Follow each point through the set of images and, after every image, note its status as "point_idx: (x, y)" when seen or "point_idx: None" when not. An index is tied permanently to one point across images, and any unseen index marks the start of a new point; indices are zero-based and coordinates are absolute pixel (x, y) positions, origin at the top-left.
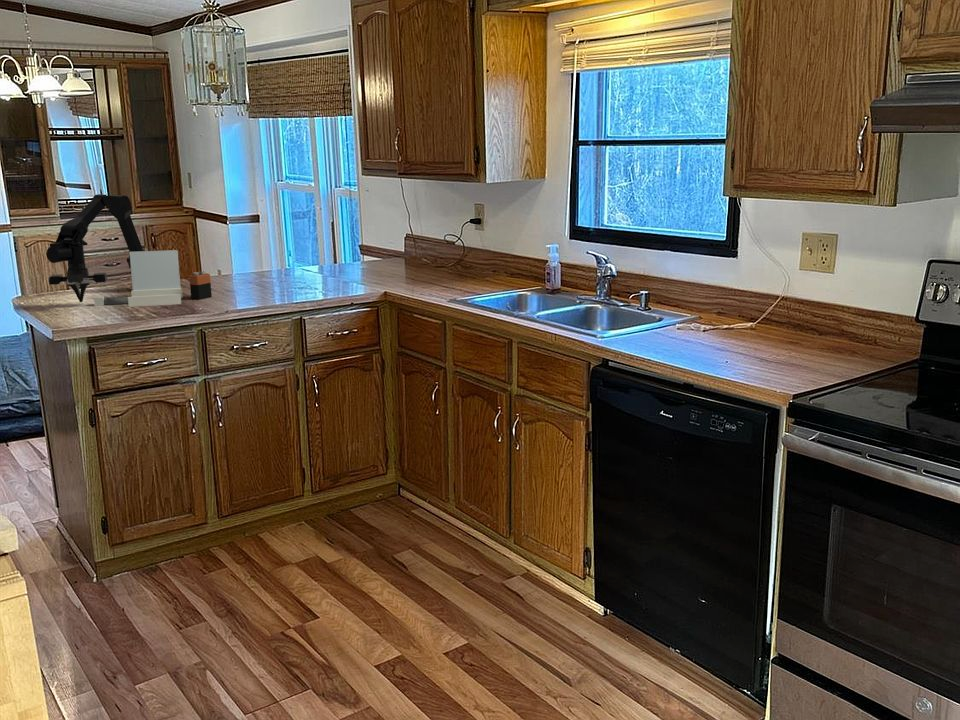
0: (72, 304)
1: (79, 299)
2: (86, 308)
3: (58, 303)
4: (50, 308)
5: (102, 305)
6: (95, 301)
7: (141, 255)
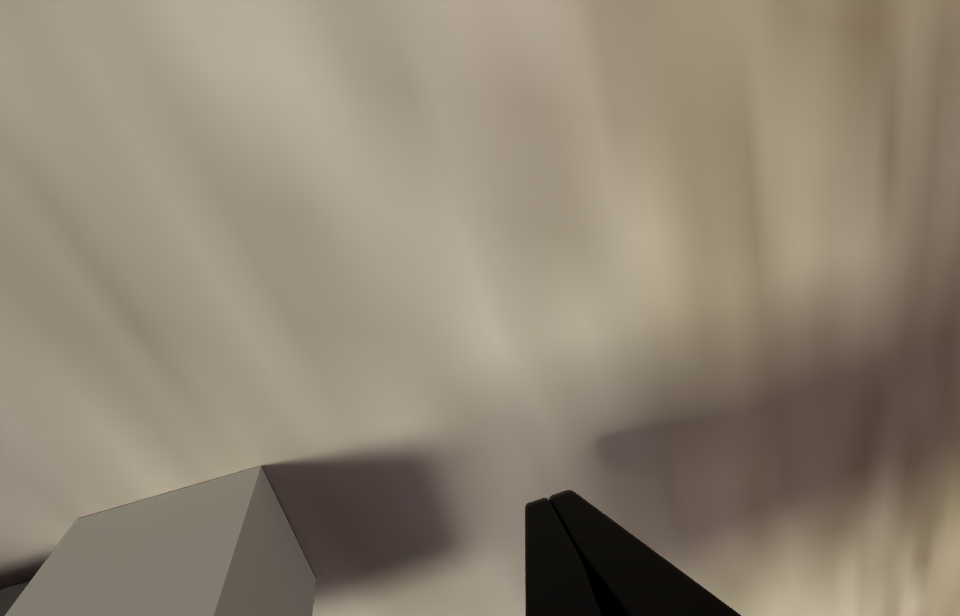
0: (687, 547)
1: (594, 528)
2: (325, 223)
3: (847, 575)
4: (953, 264)
5: (99, 515)
6: (206, 555)
7: None
